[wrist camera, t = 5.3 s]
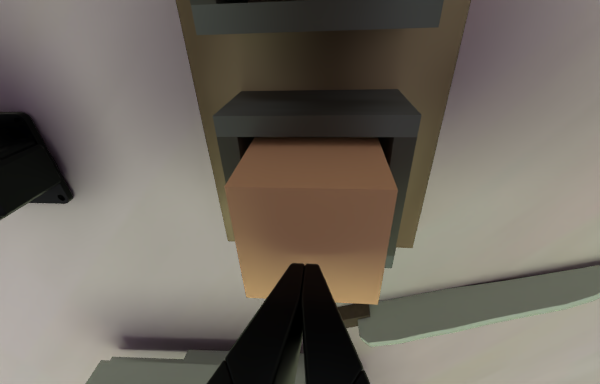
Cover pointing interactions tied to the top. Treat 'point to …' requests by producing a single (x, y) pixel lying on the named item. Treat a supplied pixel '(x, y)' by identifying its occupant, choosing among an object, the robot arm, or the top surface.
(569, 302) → the kitchen knife
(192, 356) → the toaster
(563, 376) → the top surface
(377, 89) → the button board
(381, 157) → the terracotta button
